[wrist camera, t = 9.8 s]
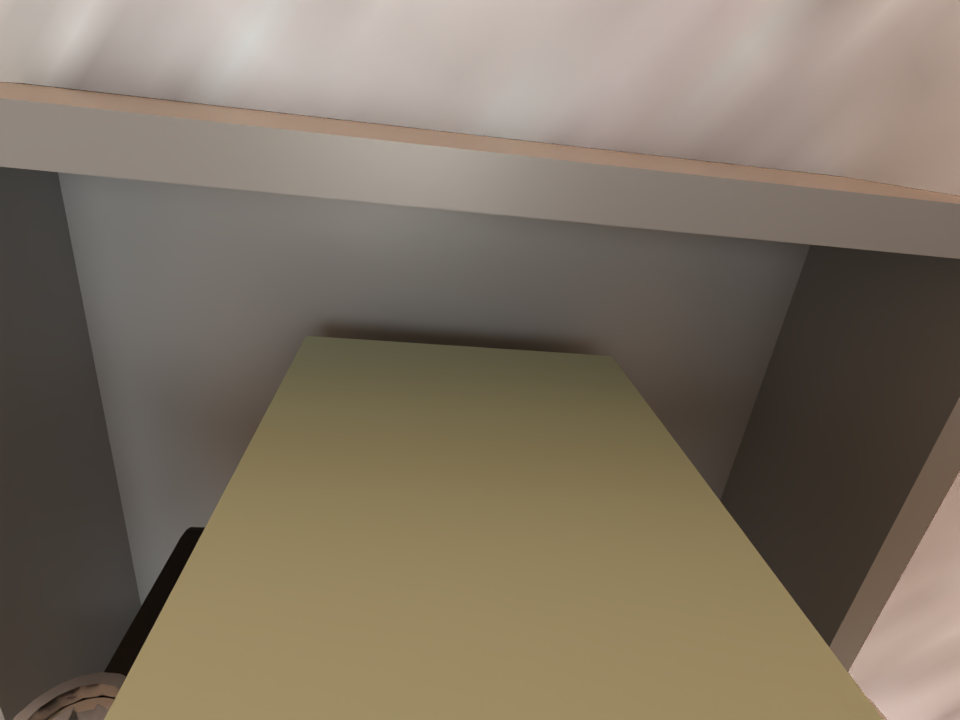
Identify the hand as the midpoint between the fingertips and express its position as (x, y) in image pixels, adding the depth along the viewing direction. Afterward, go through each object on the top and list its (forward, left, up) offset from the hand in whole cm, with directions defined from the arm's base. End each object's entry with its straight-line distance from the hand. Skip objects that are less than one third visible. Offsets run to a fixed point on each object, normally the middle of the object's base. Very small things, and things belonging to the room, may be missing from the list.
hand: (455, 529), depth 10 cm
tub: (0, 0, -4) cm, 4 cm away
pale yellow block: (0, 0, -2) cm, 2 cm away
